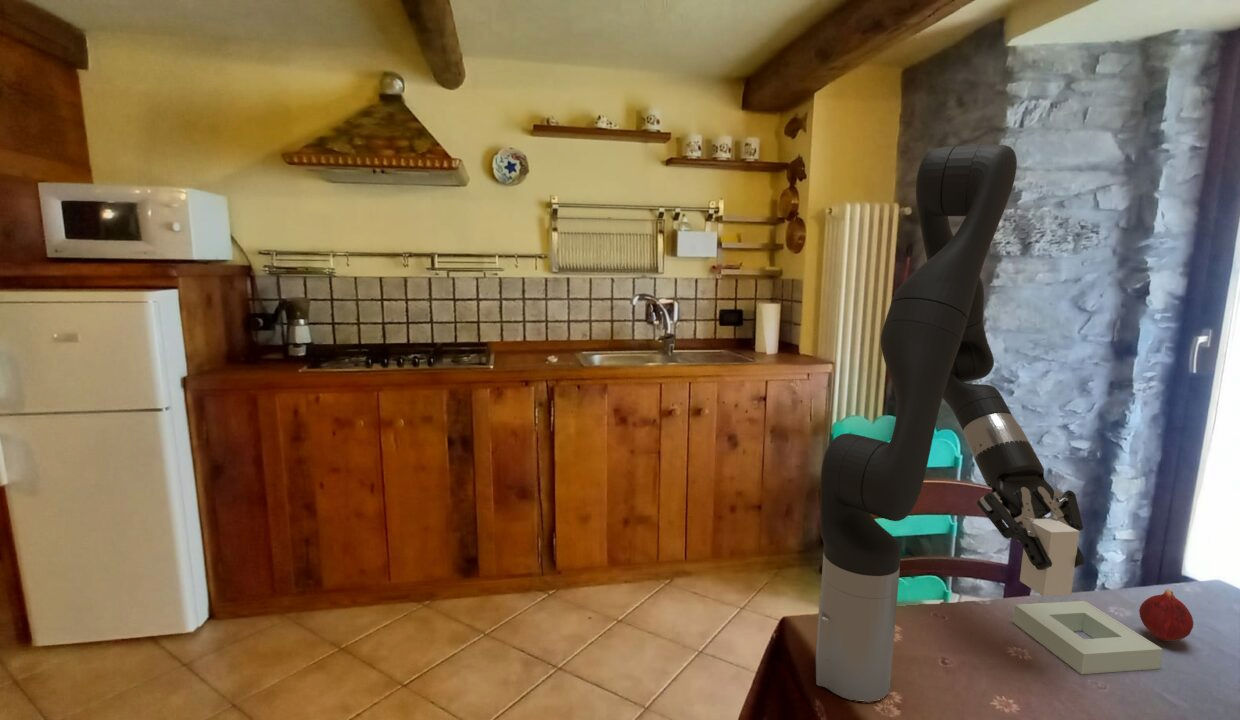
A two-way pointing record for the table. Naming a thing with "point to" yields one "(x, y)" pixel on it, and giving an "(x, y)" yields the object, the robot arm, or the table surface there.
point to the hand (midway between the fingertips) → (1060, 566)
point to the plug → (1052, 559)
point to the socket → (1098, 655)
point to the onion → (1166, 617)
